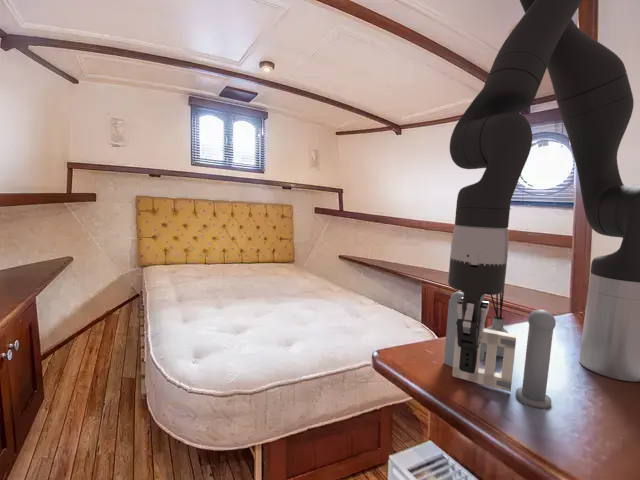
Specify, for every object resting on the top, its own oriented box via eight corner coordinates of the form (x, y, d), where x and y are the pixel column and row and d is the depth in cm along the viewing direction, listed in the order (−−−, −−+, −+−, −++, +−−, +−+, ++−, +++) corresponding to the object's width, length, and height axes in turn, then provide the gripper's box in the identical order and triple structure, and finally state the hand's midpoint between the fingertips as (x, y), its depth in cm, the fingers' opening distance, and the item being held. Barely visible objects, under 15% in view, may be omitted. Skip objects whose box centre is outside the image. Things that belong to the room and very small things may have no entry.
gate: (510, 386, 53) (516, 334, 52) (510, 391, 52) (516, 338, 51) (453, 371, 58) (457, 323, 57) (451, 376, 56) (456, 326, 55)
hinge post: (523, 387, 55) (532, 303, 53) (556, 401, 51) (567, 311, 49) (509, 397, 52) (519, 308, 50) (543, 412, 48) (554, 317, 46)
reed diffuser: (503, 367, 61) (514, 258, 59) (464, 355, 66) (472, 253, 63) (515, 349, 69) (525, 252, 67) (479, 339, 73) (487, 248, 71)
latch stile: (454, 358, 64) (459, 288, 63) (482, 370, 60) (489, 295, 58) (442, 363, 62) (447, 290, 60) (471, 376, 58) (478, 298, 56)
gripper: (457, 250, 57) (449, 349, 59) (441, 259, 46) (431, 381, 48) (508, 255, 53) (497, 360, 55) (504, 267, 42) (491, 399, 44)
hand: (467, 370), depth 51 cm, fingers closed
